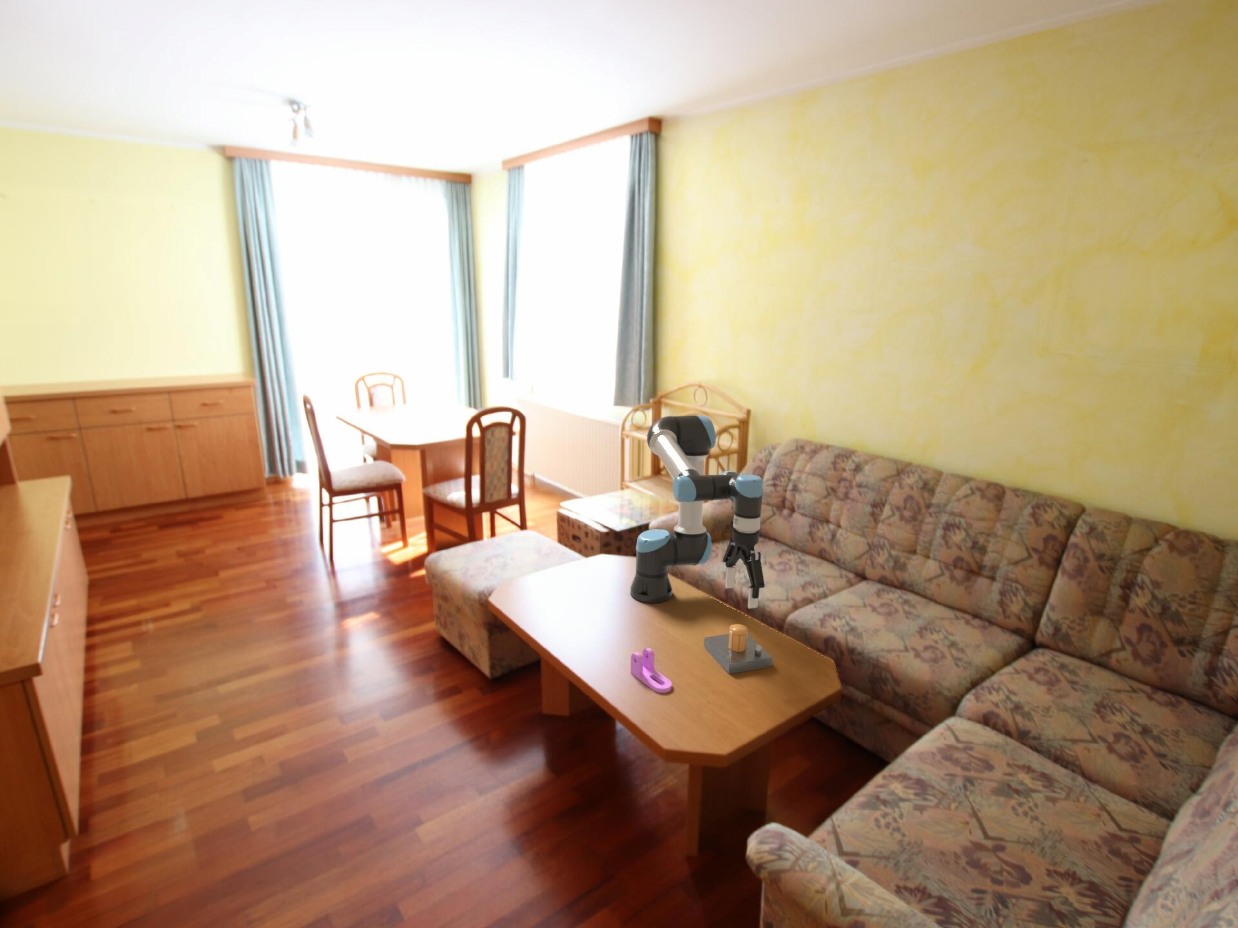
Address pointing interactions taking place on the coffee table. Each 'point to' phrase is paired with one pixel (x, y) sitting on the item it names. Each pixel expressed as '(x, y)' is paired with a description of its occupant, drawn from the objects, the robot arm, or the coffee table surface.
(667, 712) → the coffee table surface
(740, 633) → the orange faceted knob
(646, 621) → the coffee table surface
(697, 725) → the coffee table surface
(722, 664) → the block
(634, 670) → the bracket
